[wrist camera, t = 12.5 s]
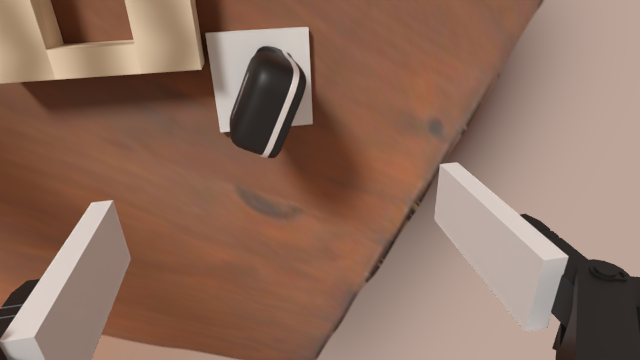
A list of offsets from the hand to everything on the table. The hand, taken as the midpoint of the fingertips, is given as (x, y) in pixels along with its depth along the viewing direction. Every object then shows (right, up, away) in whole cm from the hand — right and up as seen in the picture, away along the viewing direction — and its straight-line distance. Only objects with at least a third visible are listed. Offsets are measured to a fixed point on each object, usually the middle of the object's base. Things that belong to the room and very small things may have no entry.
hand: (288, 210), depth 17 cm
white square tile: (-4, +11, +22) cm, 25 cm away
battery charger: (-4, +11, +21) cm, 24 cm away
